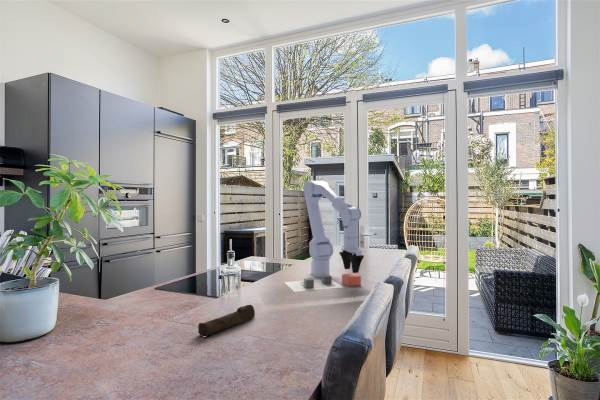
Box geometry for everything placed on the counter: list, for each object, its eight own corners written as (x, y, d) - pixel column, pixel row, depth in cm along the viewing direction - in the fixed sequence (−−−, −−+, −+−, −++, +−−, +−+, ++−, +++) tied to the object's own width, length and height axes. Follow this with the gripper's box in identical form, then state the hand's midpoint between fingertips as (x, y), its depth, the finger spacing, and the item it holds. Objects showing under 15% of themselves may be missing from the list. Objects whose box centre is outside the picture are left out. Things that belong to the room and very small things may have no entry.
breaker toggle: (304, 286, 134) (304, 278, 134) (311, 285, 135) (311, 278, 135) (306, 288, 132) (306, 280, 132) (313, 287, 132) (313, 279, 132)
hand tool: (205, 340, 89) (205, 322, 89) (197, 336, 92) (197, 318, 92) (260, 320, 103) (260, 305, 103) (251, 317, 106) (251, 302, 106)
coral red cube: (342, 286, 141) (341, 274, 141) (354, 285, 142) (354, 273, 142) (347, 289, 135) (347, 277, 135) (360, 288, 137) (360, 276, 137)
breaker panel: (284, 285, 142) (284, 275, 142) (329, 282, 148) (329, 271, 148) (294, 295, 128) (294, 283, 128) (344, 291, 134) (344, 279, 134)
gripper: (334, 235, 144) (335, 268, 144) (349, 239, 131) (350, 275, 131) (350, 234, 146) (350, 266, 147) (366, 238, 133) (366, 273, 133)
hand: (351, 270), depth 139 cm, fingers open, 7 cm apart
